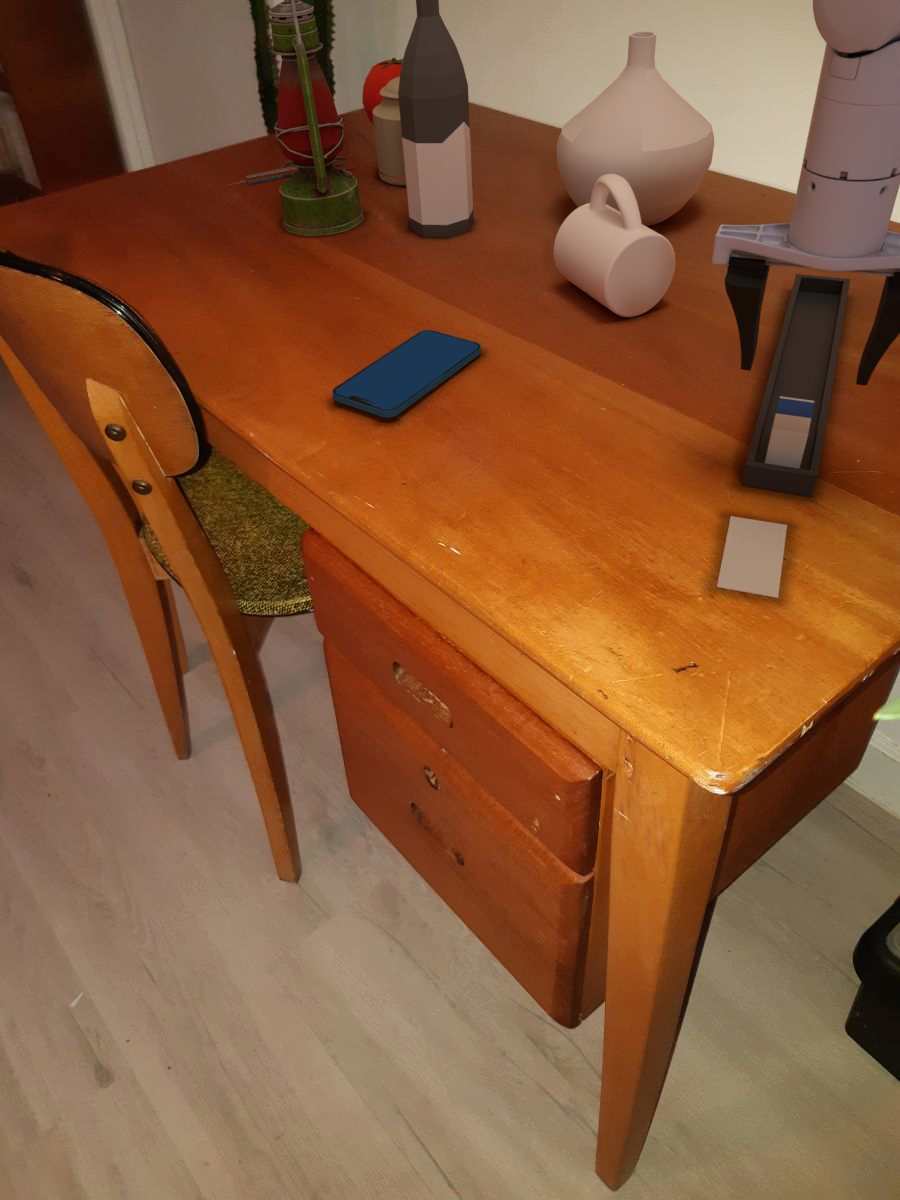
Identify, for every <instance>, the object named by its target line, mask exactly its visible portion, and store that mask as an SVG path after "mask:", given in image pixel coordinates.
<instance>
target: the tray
mask: <svg viewBox="0 0 900 1200" xmlns="http://www.w3.org/2000/svg"><path fill="white" fill-rule="evenodd" d="M850 284H851V279H850V278H844V277H834V276H833V277H832V276H823V275H822V276H821V275H810V274H801V273H796V274H795V277H794V281H793V285H792V289H791V292H790V295H789V300H788V304H787V307H786V311H785V314H784V319H783V322H782V326H781V329H780V333H779V337H778V341H777V345H776V348H775V351H774V356H773V360H772V364H771V366H770V372H769V374H768V378H767V382H766V386H765V389H764V394H763V397H762V401H761V403H760V404H761V405H760V408H759V411H758V416H757V419H756V423H755V427H754V432H753V435H752V439H751V442H750V446H749V450H748V453H747V457H746V461H745V465H744V468H743V474H742V480H741V484H740V485H741V486H743V487H750V488H754V489H755V488H756V489H761V490H767V491H773V492H779V493H784V494H785V493H786V494H789V495H790V494H791V495H797V496H802V497H803V496H804V497H809V498H812V497H813V496H814V495H813V494H814V490H815V487H816V484H817V480H818V476H819V471H820V464H821V457H822V453H823V447H824V440H825V434H826V428H827V423H828V416H829V409H830V405H831V397H832V392H833V385H834V380H835V373H836V368H837V363H838V356H839V351H840V343H841V338H842V333H843V332H842V331H843V326H844V320H845V313H846V308H847V303H848V302H847V301H848V297H849V296H848V295H849V290H850ZM780 396H782V397H789V398H797V399H804V400H811V401H814V408H813V414H812V419H811V423H810V427H809V433H808V437H807V441H806V445H805V449H804V453H803V457H802V461H801V465H800V468H792V467H786V466H780V465H774V464H767V463H765V458H766V454H767V449H768V444H769V440H770V435H771V431H772V426H773V422H774V417H775V413H776V409H777V404H778V400H779V398H780Z"/></svg>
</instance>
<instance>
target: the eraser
mask: <svg viewBox="0 0 900 1200" xmlns="http://www.w3.org/2000/svg"><path fill="white" fill-rule="evenodd" d="M813 408H814V401H811V400H804V399H797V398H789V397H782V396H780V398H779V400H778V404H777V409H776V413H775V417H774V422H773V426H772V431H771V435H770V440H769V444H768V449H767V454H766V458H765V463H767V464H774V465H780V466H786V467H792V468H800V465H801V461H802V457H803V453H804V449H805V445H806V441H807V437H808V433H809V427H810V423H811V419H812V414H813Z"/></svg>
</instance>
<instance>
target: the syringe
mask: <svg viewBox="0 0 900 1200" xmlns="http://www.w3.org/2000/svg"><path fill="white" fill-rule="evenodd" d="M340 161H341V162H345V161H347V160H346V159H344V158H335V161H334V162H340ZM289 162H290V161H289ZM286 163H287V162H286ZM348 164H349V160H348V161H347V162H346V163H344V164H340V165H333V167H335V168H337V169H339V168H343V167H346V166H347V165H348ZM284 167H287V168H283V167H282V168H277V169H273V170H272V169H271V170H268V171H263V172H258V173H253V174H249V175H246V176H245V178H246V177H247V178H251V177H256V176H263V175H267V174H273V173H278V172H284V171H289V170H296V169H298V168H297V167H296V166H295V165H294V163H293V162H290V163H287V164H285V165H284ZM297 172H298V171H297ZM291 173H292V172H290V173H285V174H280V175H275V176H271V177H266V178H261V179H256V180H251V181H242V180H239V182H238V184H243V185H244V184H247V186H248V187H250V186H255V185H260V184H265V183H270V182H274V181H278V180H284V179H289V178H290V177H292V175H291ZM295 173H296V172H294V173H293V175H294V174H295ZM259 174H260V175H259ZM236 184H237V182H234V183H233V185H236ZM231 185H232V183H230V184H229V186H231Z"/></svg>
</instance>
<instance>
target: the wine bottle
mask: <svg viewBox="0 0 900 1200" xmlns="http://www.w3.org/2000/svg"><path fill="white" fill-rule="evenodd" d="M415 7H416V18H415V21H414V24H413V28H412V30H411V33H410V36H409V39H408V41H407V45H406V47H405V49H404V53H403V57H404V58H403V57H402V59H403V63H402V67H401V72H400V81H399V90H398V98H399V109H400V120H401V131H402V142H403V153H404V164H405V175H406V186H405V187H406V197H407V206H408V207H407V208H408V217H409V225H410V230H411V231H412V232H414V233H416V234H418V235H419V236H422V237H423V238H447V239H448V238H451V237H454V236H457V235H461V234H463V233H467V232H469V231H470V228H471V226H472V225H473V223H474V198H473V196H474V195H473V193H474V192H473V174H472V173H473V172H472V171H473V170H472V149H471V148H472V146H471V128H470V127H471V125H470V102H469V101H470V100H469V83H468V80H467V75H466V72H465V68H464V63H463V61H462V59H461V56H460V52H459V50H458V47H457V45H456V43H455V41H454V39H453V38H452V36H451V34H450V31H449V30H448V28H447V26H446V24H445V22H444V21H443V18H442V16H441V14H440V1H439V0H415Z"/></svg>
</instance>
